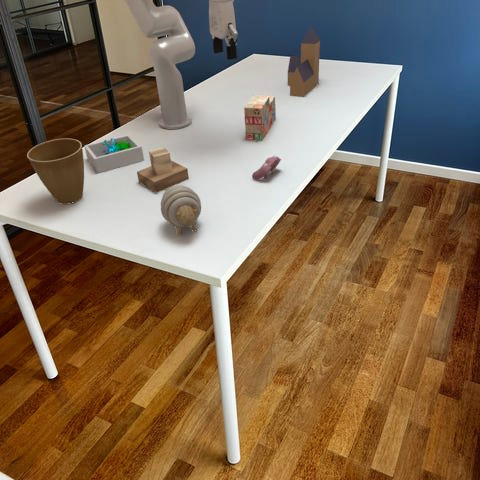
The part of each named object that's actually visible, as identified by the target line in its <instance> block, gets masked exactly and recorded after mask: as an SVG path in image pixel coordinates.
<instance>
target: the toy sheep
mask: <svg viewBox="0 0 480 480" xmlns="http://www.w3.org/2000/svg"><path fill="white" fill-rule="evenodd" d="M201 212H202V202H201V198H200V197H199V195H198V194H197V193H196V192H195V191H194V190H193V189H192V188H190V187H189V186H185V185H184V184H176V185H174V186H171V187H169V188H167V189H165V190H164V192H163V194H162V198H161V200H160V213H161V216H162V218H163V219H164V220H165V221H166V222H167V223H168V224H169V225H171V226H172V227H175V232H176V235H177V236H181V235H182V234H183V233H182V228H188V227H189V228H190V229H191V231H192V230H193V231H192V232H196V231H197V224H196V222H197V220H198V218H199V217H200V215H201ZM195 230H196V231H195ZM181 233H182V234H181ZM180 234H181V235H180Z"/></svg>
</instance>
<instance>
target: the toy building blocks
mask: <svg viewBox="0 0 480 480" xmlns="http://www.w3.org/2000/svg"><path fill="white" fill-rule="evenodd" d="M300 45H301V46H300V56H298V55H290V56H289V62H288V67H287V87H289V96H290V97H299V98H305V97H306V96H307V95H308V94H309V93H310V92H311V91H312V90H313V89H315V88H316V87H317V86H318V85H319V81H320V80H319V77H320V51H321V50H320V49H321V40H320V38H319V37H318V35H317V34H316V32H315V31H314V29H313V28H312V26H310V27H309V29H308V31H307V33H306V35H305V36H304V38H303V40H302V41H301V44H300Z"/></svg>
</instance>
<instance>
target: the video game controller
mask: <svg viewBox="0 0 480 480" xmlns="http://www.w3.org/2000/svg"><path fill="white" fill-rule="evenodd" d="M264 161H265V162H264V163H263V164H262V165H261V166H260V167H259V168H258V169H257V170H256V171H254V172H253V173H252V175H251V177H252V179H253V180H256V181H257V180H260V179H263V178H267V177H268V176H269V175H271V174H273V173H274V172H275V169H276V168H277V166H279V164H280V162H281V161H282V159H281V158H280V157H278V156H276V155H273V156H271V157H268V158H266V160H264Z"/></svg>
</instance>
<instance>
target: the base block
mask: <svg viewBox="0 0 480 480" xmlns="http://www.w3.org/2000/svg"><path fill="white" fill-rule="evenodd" d="M171 164H172V171H171V172H167V173H163V174H159V175H156V173H155V172H154V171H153V170H152V166H151V165H150V166H147V167H146V168H143V169H140V170H138V171H136V175H137V179H138V183H139V184H141V185H142V186H144V187H146V188H148V189H150V190H151V191H153V192H154V193H156V194H157V193H160V192H162V191H165V190H167V189H168V188H169V187H171V186H174V185H179V184H181V183H182V182H184V181H187V180H189V171H188V168H187V167H185V166H183V165H182V164H179V163H178V162H176V161H173V160H172V159H171Z"/></svg>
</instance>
